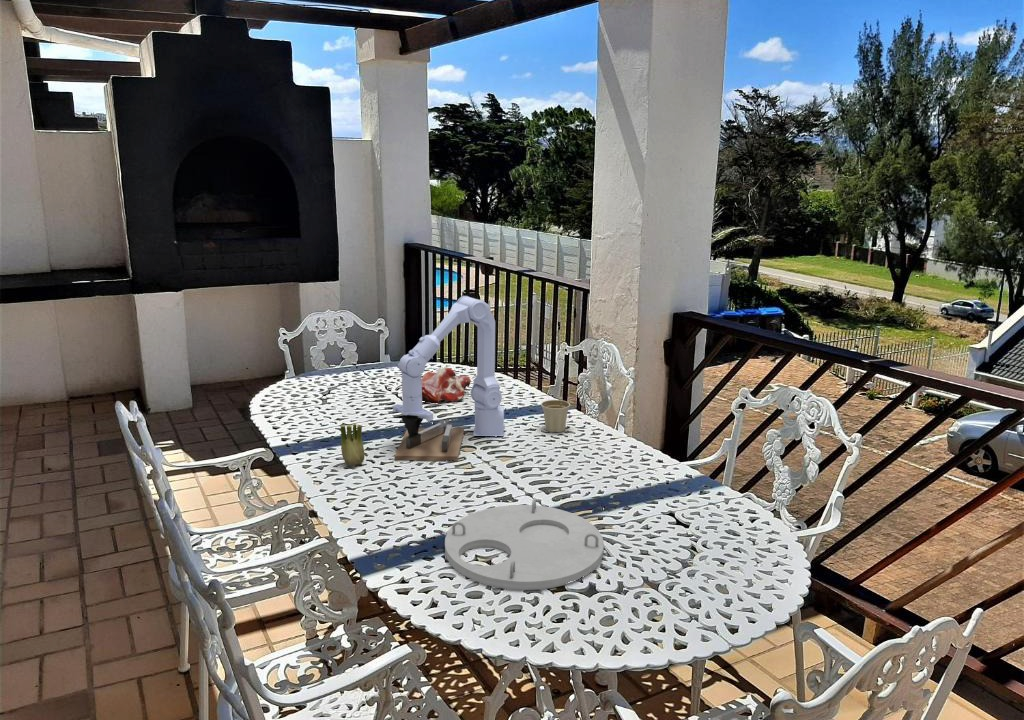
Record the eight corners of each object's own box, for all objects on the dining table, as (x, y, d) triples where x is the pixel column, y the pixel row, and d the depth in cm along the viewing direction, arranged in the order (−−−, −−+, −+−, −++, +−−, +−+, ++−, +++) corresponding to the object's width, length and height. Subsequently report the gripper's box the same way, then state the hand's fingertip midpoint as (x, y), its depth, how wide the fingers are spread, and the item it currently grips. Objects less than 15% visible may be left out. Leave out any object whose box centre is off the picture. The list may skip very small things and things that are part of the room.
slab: (598, 599, 141) (599, 576, 140) (425, 582, 147) (424, 559, 146) (607, 519, 174) (607, 500, 173) (465, 507, 180) (465, 488, 179)
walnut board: (464, 432, 232) (464, 428, 231) (457, 461, 208) (457, 456, 208) (407, 432, 232) (407, 427, 231) (394, 460, 209) (394, 455, 208)
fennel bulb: (340, 465, 205) (338, 425, 202) (351, 459, 209) (349, 420, 206) (357, 469, 202) (355, 428, 200) (367, 463, 207) (365, 423, 204)
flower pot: (536, 432, 233) (536, 406, 230) (546, 423, 241) (546, 398, 239) (564, 436, 229) (565, 410, 227) (573, 427, 238) (574, 401, 235)
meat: (466, 406, 259) (466, 379, 257) (407, 405, 260) (406, 378, 258) (472, 389, 279) (472, 364, 277) (417, 388, 280) (416, 363, 278)
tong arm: (443, 429, 230) (443, 419, 229) (450, 430, 228) (450, 420, 228) (404, 447, 214) (404, 436, 213) (411, 449, 213) (411, 438, 212)
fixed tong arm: (447, 433, 225) (447, 424, 225) (452, 433, 225) (452, 424, 225) (442, 451, 211) (441, 441, 210) (447, 451, 211) (447, 441, 210)
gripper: (384, 393, 215) (386, 437, 219) (421, 402, 207) (422, 447, 210) (401, 388, 221) (403, 430, 224) (437, 397, 213) (438, 440, 216)
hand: (413, 438), depth 218 cm, fingers closed
